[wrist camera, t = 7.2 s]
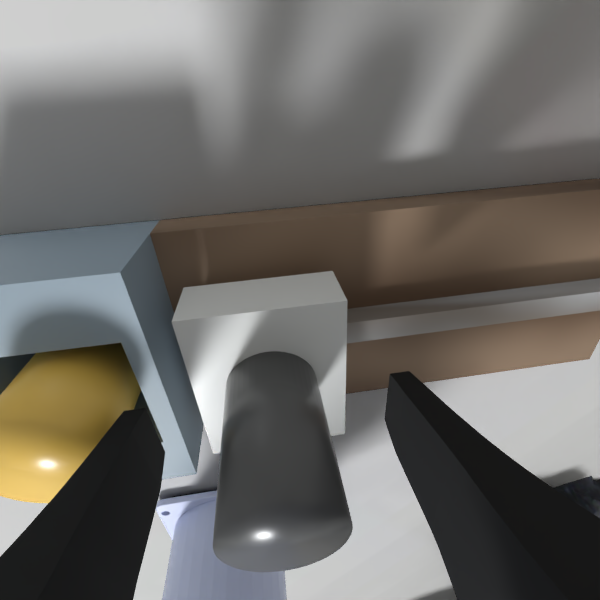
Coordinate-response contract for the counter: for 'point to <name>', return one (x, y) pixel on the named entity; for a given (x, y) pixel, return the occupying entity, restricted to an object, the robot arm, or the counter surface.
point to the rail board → (422, 274)
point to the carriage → (271, 413)
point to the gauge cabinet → (101, 318)
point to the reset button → (60, 416)
